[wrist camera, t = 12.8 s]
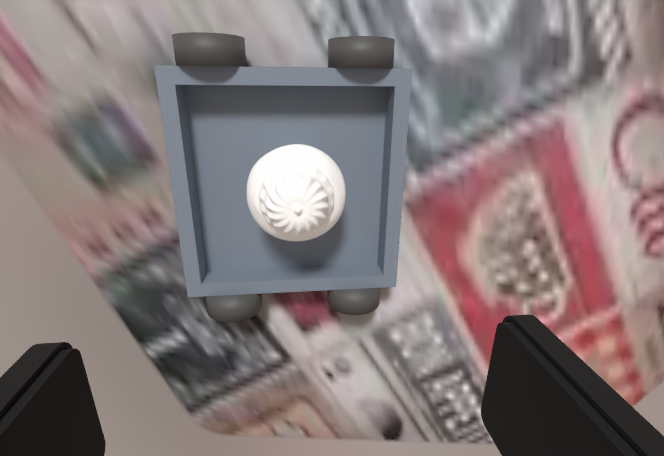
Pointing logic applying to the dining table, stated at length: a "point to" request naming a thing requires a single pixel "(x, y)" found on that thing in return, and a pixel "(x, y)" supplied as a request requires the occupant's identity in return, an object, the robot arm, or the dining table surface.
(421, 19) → the dining table surface
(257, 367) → the dining table surface
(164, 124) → the toy cart
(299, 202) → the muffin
